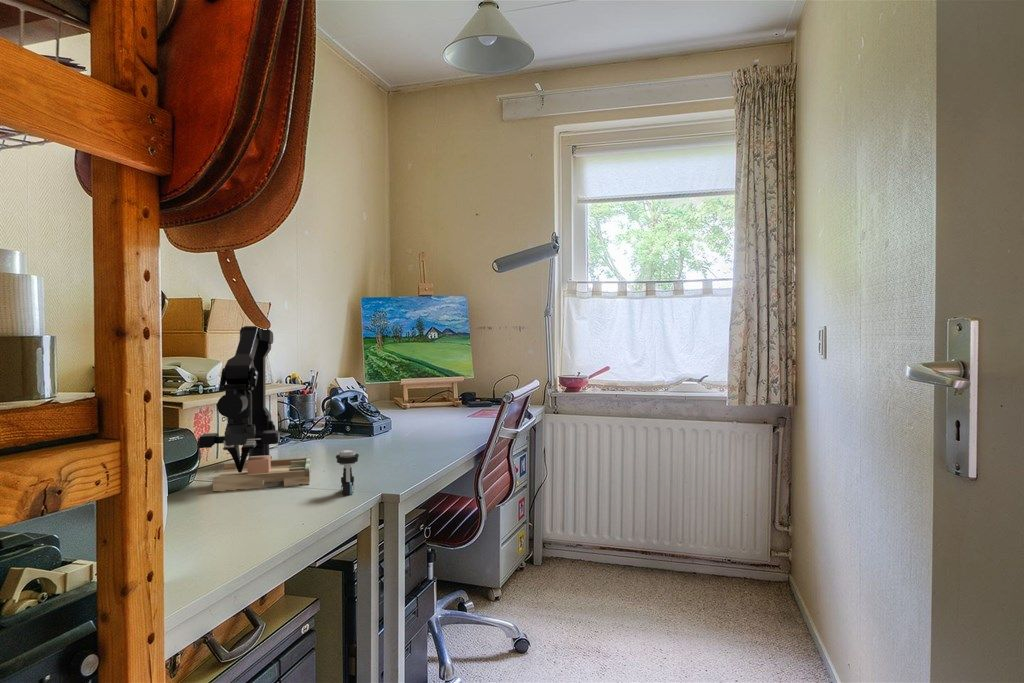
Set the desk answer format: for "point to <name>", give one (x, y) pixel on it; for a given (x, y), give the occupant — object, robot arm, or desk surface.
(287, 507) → the desk surface
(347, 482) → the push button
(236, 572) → the desk surface
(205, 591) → the desk surface
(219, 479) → the board
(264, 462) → the block
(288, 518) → the desk surface
